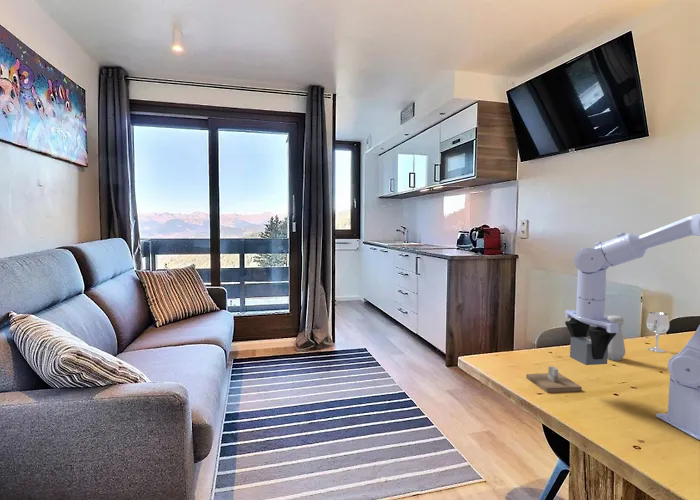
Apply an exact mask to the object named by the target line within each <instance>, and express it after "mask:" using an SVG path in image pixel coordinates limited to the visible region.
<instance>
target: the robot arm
mask: <svg viewBox="0 0 700 500" xmlns="http://www.w3.org/2000/svg"><path fill="white" fill-rule="evenodd" d="M691 236H699V237H700V213H696V214H693V215H689V216H687V217H684V218H681V219H679V220H676V221H674V222H671V223H669V224H666V225H663V226H661V227H658V228H656V229H653V230H650V231H647V232H645V233H643V234H641V235H639V234H635V233H633V232H628V233H625V232H620V233H617V234H616V237H614V238H613V239H609V240H606V241H603V242H601V241H598V242H595V243H594V247H589V246H588V247H587V246H586V247H583V248H582V249H580V250H579V251H577V252H576V253H575V256H574V258H573V263H574V265H575V267H576V268H577V281H576V283H577V285H576V306H575V307H576V309H566V310H565V312H564V318H566V319H570V320H566V321H565V322H564V324H565V326H566V327H567V330H568V331H569V334H570V336H571V337H586V336H588V334H589V336H590V338H591V343H592V356H593V359H603V357H604V354H605V351H606V349H607V347H608V345H609V343H610V341H611V340H612V339H613V337H614V336H615V335H616V333H618V326H619V324H616V323H614V322H612V321H610V320H608V319H607V318H608V316H606V315H605V311H606V309H605V308H606V290H607V289H606V288H607V286H606V284H607V279H606V278H607V277H606V276H607V270H608V268H609V267H611V268H612V267H615V266H619V265H621V264H625V263H628V262H630V261H634V260H638V259H641V258H644V256H645V254H646V252H647V250H648V249H650V248H655V247H657V246H661V245H665V244H667V243H672V242H674V241H676V240H680V239H683V238H686V237H691ZM591 326H592V327H594V328H590V327H591ZM571 337H570V338H571ZM667 370H668V372H669V374H670V375H669V386H668V401H667V402H668V405H667V413H656V414H655V416H656V418H658V419H660V420H662V421H664V422H665V423H667V424H670V425H671V426H673V427H675V428H676V429H678V430H680V431H682V432H684V433H686V434H687V435H689V436H690V437H692V438H694V439H697V440H699V441H700V324H699V325H698V327H697V328H696V330H695V332H694V334H693V335H692V336H691V337H690V339H689V340H688V341H687V342H686V344H685V345H684V347H683V348H682V349H681V351H679V352H678V353H676V354H674V355H672V356H671V357H670V358H669V360H668V363H667Z"/></svg>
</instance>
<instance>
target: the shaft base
mask: <svg viewBox="0 0 700 500" xmlns="http://www.w3.org/2000/svg"><path fill="white" fill-rule="evenodd" d="M547 369H548V372H545V373H543V372H542V373H526V374H525V378H526V379H527V380H528V381H530V382H532V384H534V385H536V386H537V387H538V388H540V389H541V390H543V391H544V392H546V393H561V392H564V393H565V392H580V391H582V389H583V387H582V386H581V385H580V384H578V383H577V382H574V381H573V380H571V379H570V378H568V377H567V376H565V375H563V374H561V373H559V369H558V368H556V367H554V365H548V368H547Z"/></svg>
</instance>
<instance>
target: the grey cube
mask: <svg viewBox="0 0 700 500" xmlns="http://www.w3.org/2000/svg"><path fill="white" fill-rule="evenodd" d="M569 346H570V347H569V358H571V359H573V360H575V361H577V362H579V363H581V364H583V365H585V366H597V365H607V364H608V359H607V357H608V347H607V349H606V351H605V354H604V357H603V359H593V356H592V343H591V338H590V335H589V336H588V335H587V336H586V337H570V345H569Z"/></svg>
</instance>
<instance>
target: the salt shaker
mask: <svg viewBox="0 0 700 500" xmlns="http://www.w3.org/2000/svg"><path fill="white" fill-rule="evenodd" d="M607 317H608V318H607V319H608V320H610V321H612V322H614V323H616V324H619V326H618V333H616V335H615V336H614V337H613V339H612V340H611V341H610V343H609V345H608V357H607V360H611V361H615V362H616V361H617V362H620V361H622V359H623V358H624V356H626V346H625V340H624V334H623V329H622V325H624V322H625V320H624V318H623V317H622V316H619V315H614V314H613V315H607Z"/></svg>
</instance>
